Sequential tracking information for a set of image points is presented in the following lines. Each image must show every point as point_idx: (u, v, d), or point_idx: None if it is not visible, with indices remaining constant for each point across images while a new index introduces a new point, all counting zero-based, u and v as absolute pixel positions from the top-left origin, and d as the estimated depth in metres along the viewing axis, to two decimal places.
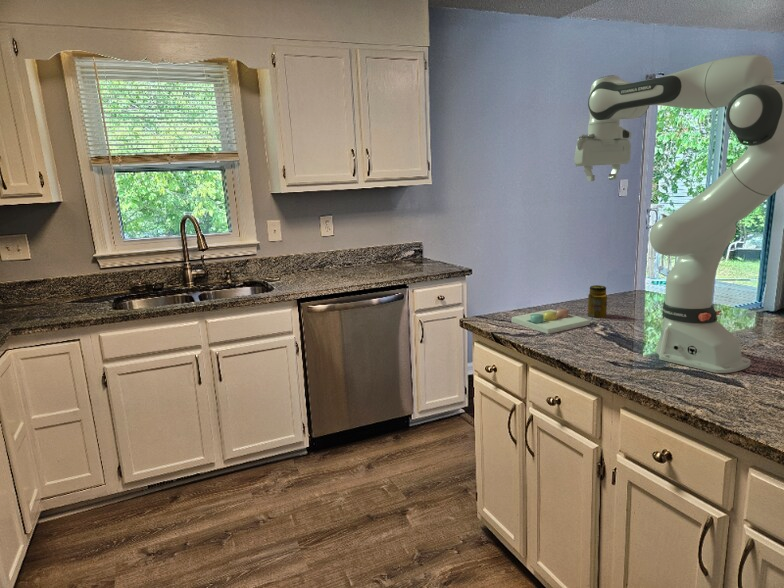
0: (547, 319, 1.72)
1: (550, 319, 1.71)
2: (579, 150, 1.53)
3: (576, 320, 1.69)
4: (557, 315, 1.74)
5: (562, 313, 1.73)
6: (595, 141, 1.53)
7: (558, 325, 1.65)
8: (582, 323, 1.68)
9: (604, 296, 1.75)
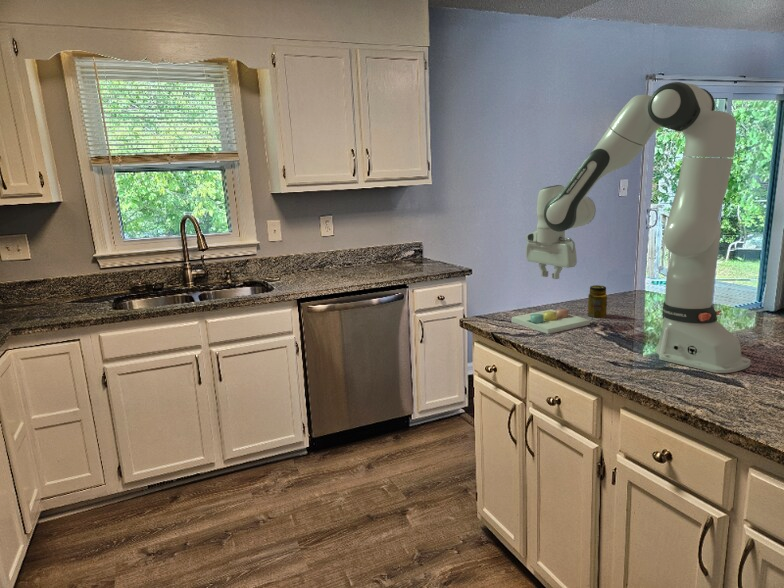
0: (547, 319, 1.72)
1: (550, 319, 1.71)
2: (572, 253, 1.60)
3: (576, 320, 1.69)
4: (557, 315, 1.74)
5: (562, 313, 1.73)
6: None
7: (558, 325, 1.65)
8: (582, 323, 1.68)
9: (604, 296, 1.75)
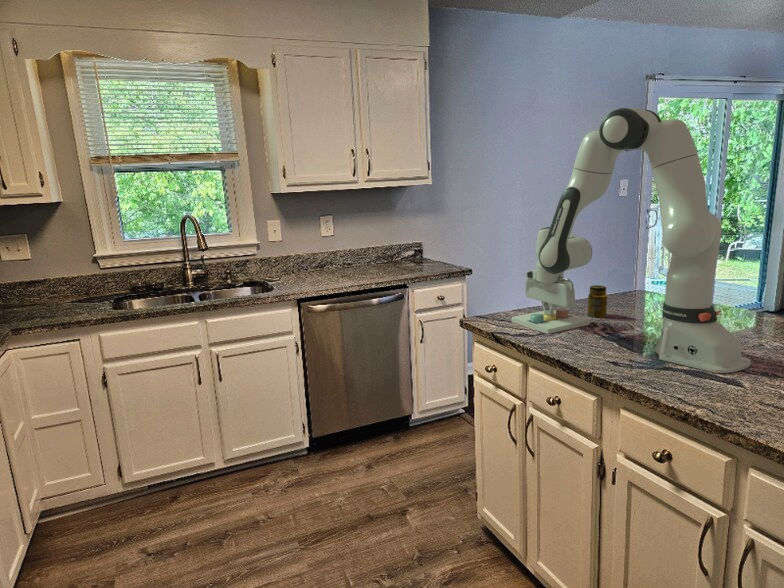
0: None
1: None
2: (571, 293, 1.62)
3: (576, 320, 1.69)
4: (557, 315, 1.74)
5: (562, 313, 1.73)
6: None
7: (558, 325, 1.65)
8: (582, 323, 1.68)
9: (604, 296, 1.75)
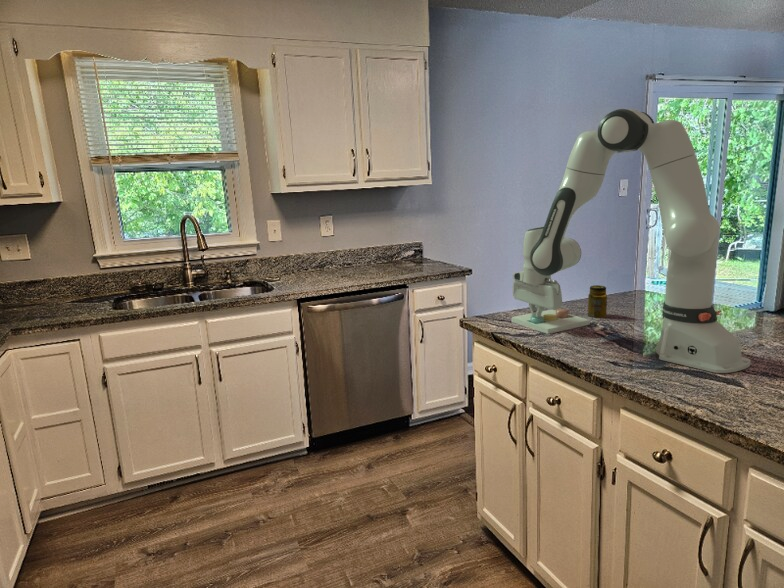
0: None
1: None
2: (558, 295, 1.60)
3: (576, 320, 1.69)
4: (557, 315, 1.74)
5: (562, 313, 1.73)
6: None
7: (558, 325, 1.65)
8: (582, 323, 1.68)
9: (604, 296, 1.75)
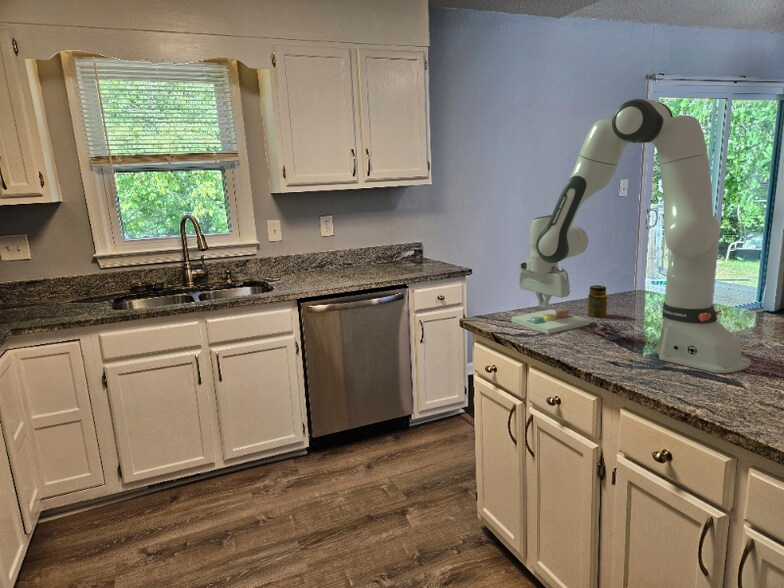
0: None
1: None
2: (566, 283, 1.60)
3: (576, 320, 1.69)
4: (557, 315, 1.74)
5: (562, 313, 1.73)
6: None
7: (558, 325, 1.65)
8: (582, 323, 1.68)
9: (604, 296, 1.75)
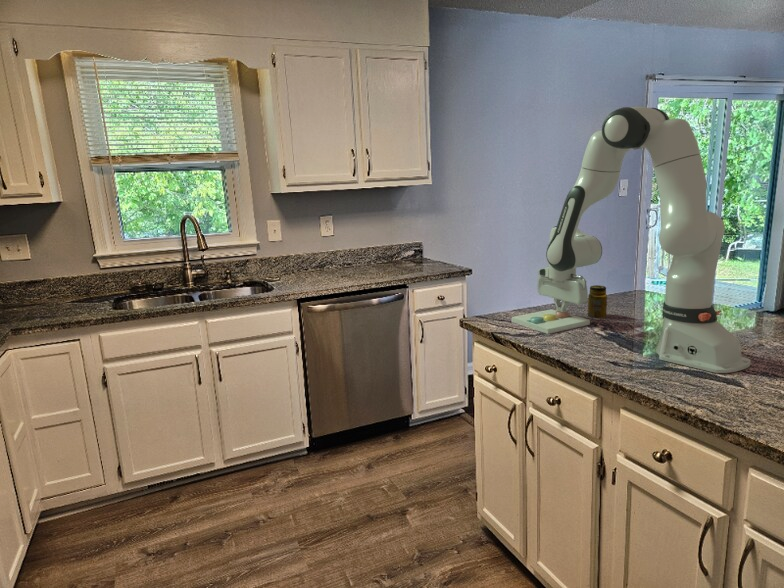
0: None
1: None
2: (584, 290, 1.65)
3: (576, 320, 1.69)
4: (557, 317, 1.75)
5: (562, 315, 1.73)
6: None
7: (558, 325, 1.65)
8: (582, 323, 1.68)
9: (604, 296, 1.75)
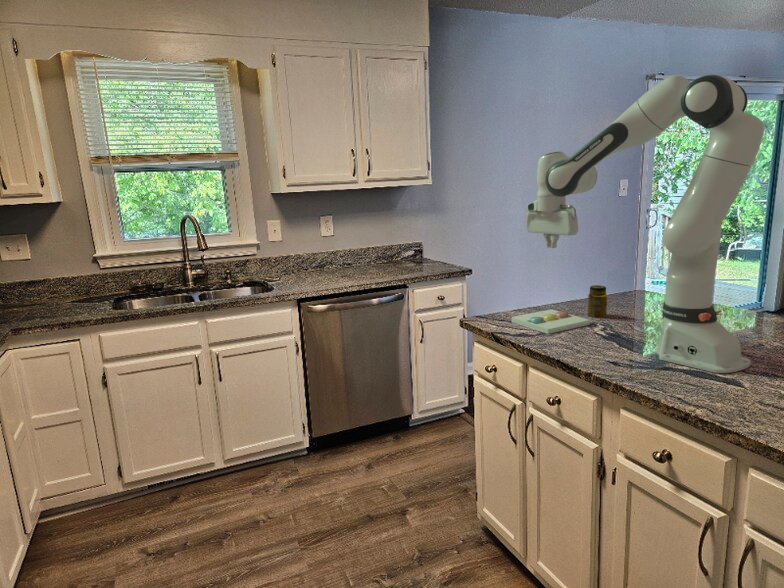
0: None
1: None
2: (574, 220, 1.56)
3: (576, 320, 1.69)
4: None
5: (562, 316, 1.73)
6: None
7: (558, 325, 1.65)
8: (582, 323, 1.68)
9: (604, 296, 1.75)
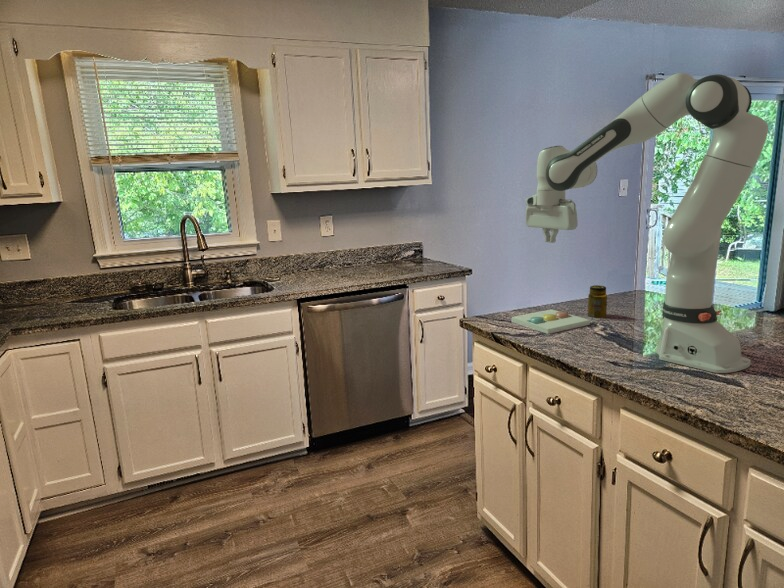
0: None
1: None
2: (573, 214, 1.56)
3: (576, 320, 1.69)
4: None
5: (562, 316, 1.73)
6: None
7: (558, 325, 1.65)
8: (582, 323, 1.68)
9: (604, 296, 1.75)
